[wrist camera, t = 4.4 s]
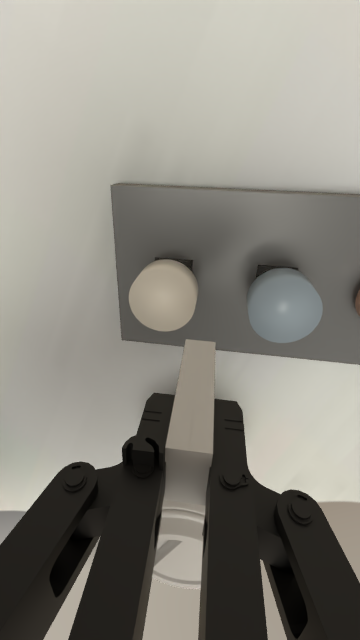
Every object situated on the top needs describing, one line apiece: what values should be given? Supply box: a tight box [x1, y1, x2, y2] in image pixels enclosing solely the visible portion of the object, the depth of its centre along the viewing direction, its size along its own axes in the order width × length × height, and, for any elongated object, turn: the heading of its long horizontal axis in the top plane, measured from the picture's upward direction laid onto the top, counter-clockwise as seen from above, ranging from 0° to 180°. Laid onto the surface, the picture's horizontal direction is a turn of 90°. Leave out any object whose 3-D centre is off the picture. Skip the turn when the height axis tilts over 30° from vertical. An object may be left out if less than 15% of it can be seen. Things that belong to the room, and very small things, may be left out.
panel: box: [111, 183, 360, 365], centre depth 26 cm, size 27×14×2 cm, turn 88°
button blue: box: [247, 268, 323, 343], centre depth 22 cm, size 5×5×4 cm
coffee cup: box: [152, 499, 205, 589], centre depth 29 cm, size 10×10×15 cm
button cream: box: [129, 259, 198, 332], centre depth 23 cm, size 5×5×4 cm
